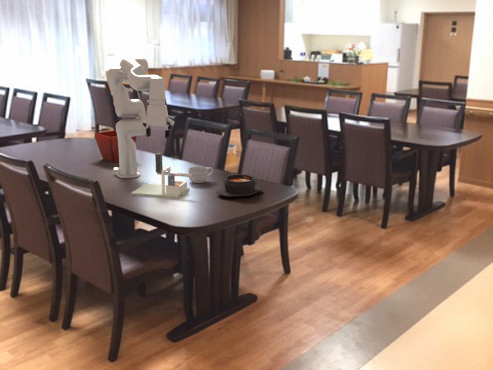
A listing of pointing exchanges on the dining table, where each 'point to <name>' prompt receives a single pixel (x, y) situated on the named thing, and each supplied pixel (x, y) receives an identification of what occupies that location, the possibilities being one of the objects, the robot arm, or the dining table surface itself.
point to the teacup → (199, 174)
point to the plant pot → (109, 145)
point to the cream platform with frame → (162, 188)
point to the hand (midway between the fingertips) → (157, 137)
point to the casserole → (239, 186)
